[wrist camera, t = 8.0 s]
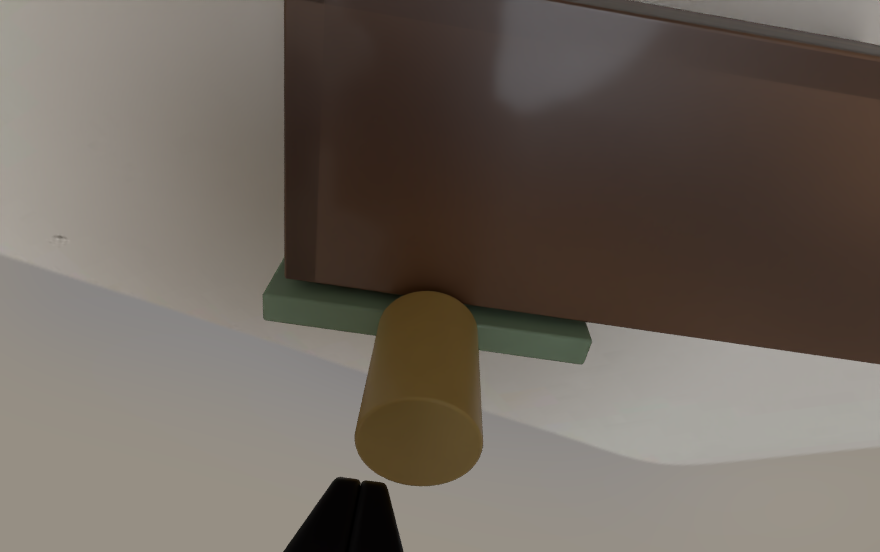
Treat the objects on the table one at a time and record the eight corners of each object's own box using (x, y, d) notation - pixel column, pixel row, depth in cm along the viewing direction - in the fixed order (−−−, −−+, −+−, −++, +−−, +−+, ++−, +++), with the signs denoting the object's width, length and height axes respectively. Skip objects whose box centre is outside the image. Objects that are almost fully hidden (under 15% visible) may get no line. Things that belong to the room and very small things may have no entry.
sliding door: (538, 254, 20) (607, 511, 11) (325, 221, 19) (205, 461, 10) (555, 195, 19) (650, 428, 9) (327, 159, 18) (194, 367, 9)
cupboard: (748, 259, 21) (888, 407, 14) (343, 197, 20) (283, 322, 13) (862, 41, 17) (1141, 102, 10) (359, -49, 16) (283, -50, 9)
